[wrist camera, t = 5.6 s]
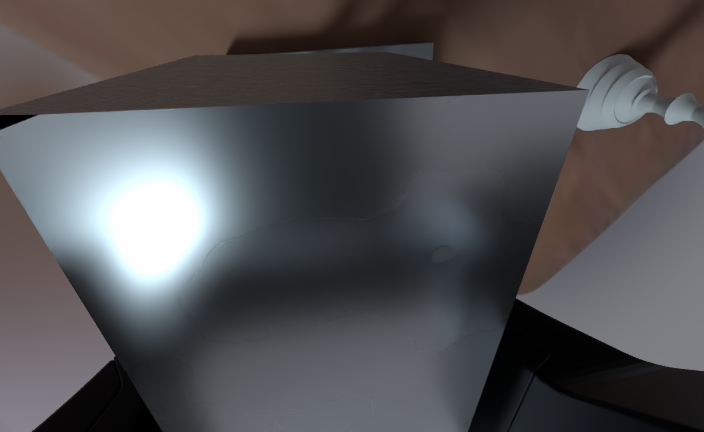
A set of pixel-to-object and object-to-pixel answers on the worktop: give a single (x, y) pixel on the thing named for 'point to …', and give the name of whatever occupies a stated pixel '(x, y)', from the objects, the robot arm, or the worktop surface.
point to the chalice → (630, 96)
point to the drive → (296, 230)
